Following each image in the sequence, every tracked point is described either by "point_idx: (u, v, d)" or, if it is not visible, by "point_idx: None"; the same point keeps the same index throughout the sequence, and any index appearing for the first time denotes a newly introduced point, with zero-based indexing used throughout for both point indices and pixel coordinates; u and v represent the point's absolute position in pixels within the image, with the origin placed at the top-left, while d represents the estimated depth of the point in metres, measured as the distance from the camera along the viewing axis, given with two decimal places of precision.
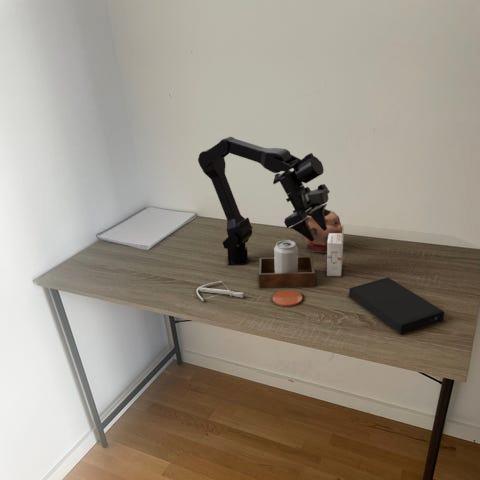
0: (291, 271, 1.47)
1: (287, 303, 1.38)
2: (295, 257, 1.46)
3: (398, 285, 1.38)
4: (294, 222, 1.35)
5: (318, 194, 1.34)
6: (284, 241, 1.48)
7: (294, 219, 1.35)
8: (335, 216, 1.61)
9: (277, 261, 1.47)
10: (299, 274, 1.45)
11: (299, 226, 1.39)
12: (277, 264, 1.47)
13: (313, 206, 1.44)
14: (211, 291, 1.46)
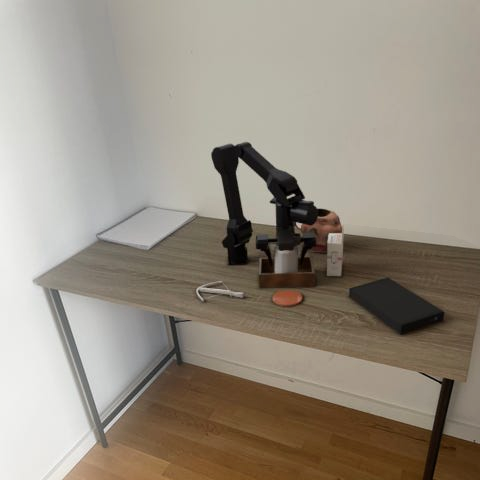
0: (291, 271, 1.47)
1: (287, 303, 1.38)
2: (295, 257, 1.46)
3: (398, 285, 1.38)
4: None
5: (278, 242, 1.38)
6: None
7: None
8: (335, 216, 1.61)
9: (277, 261, 1.47)
10: (299, 274, 1.45)
11: None
12: (277, 264, 1.47)
13: None
14: (211, 291, 1.46)
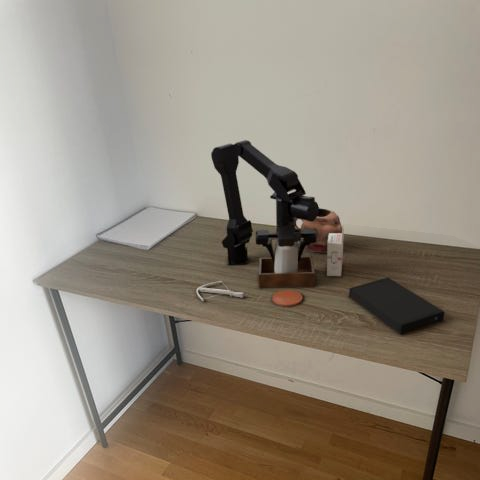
0: (291, 268, 1.47)
1: (287, 303, 1.38)
2: (296, 254, 1.45)
3: (398, 285, 1.38)
4: None
5: (278, 237, 1.37)
6: None
7: None
8: (335, 216, 1.61)
9: (277, 257, 1.46)
10: (299, 274, 1.45)
11: None
12: (277, 260, 1.47)
13: None
14: (211, 291, 1.46)
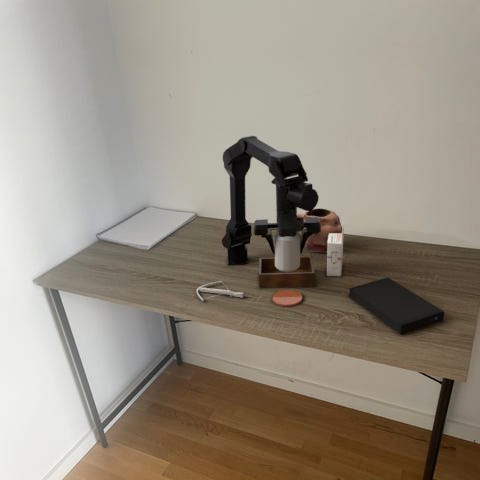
0: (293, 261, 1.35)
1: (287, 303, 1.38)
2: (298, 245, 1.33)
3: (398, 285, 1.38)
4: None
5: (278, 227, 1.25)
6: None
7: None
8: (335, 216, 1.61)
9: (278, 249, 1.34)
10: (299, 274, 1.45)
11: None
12: (278, 252, 1.35)
13: None
14: (211, 291, 1.46)
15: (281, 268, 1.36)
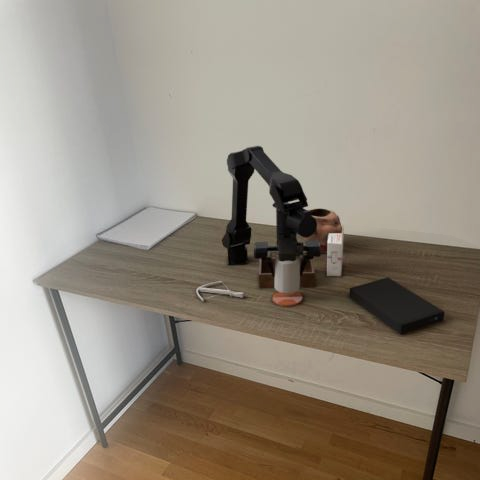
0: (293, 283, 1.35)
1: (287, 303, 1.38)
2: (298, 268, 1.33)
3: (398, 285, 1.38)
4: None
5: (278, 252, 1.25)
6: None
7: None
8: (335, 216, 1.61)
9: (278, 272, 1.34)
10: None
11: None
12: (278, 275, 1.35)
13: None
14: (211, 291, 1.46)
15: (281, 290, 1.36)
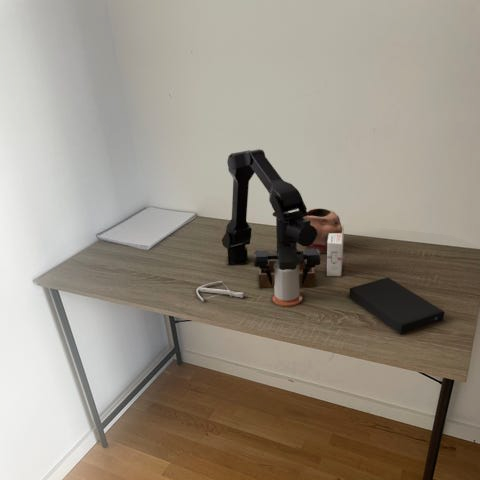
0: (292, 291, 1.36)
1: (287, 303, 1.38)
2: (297, 275, 1.34)
3: (398, 285, 1.38)
4: None
5: (278, 260, 1.26)
6: None
7: None
8: (335, 216, 1.61)
9: (277, 280, 1.35)
10: None
11: None
12: (277, 283, 1.36)
13: None
14: (211, 291, 1.46)
15: (281, 298, 1.38)
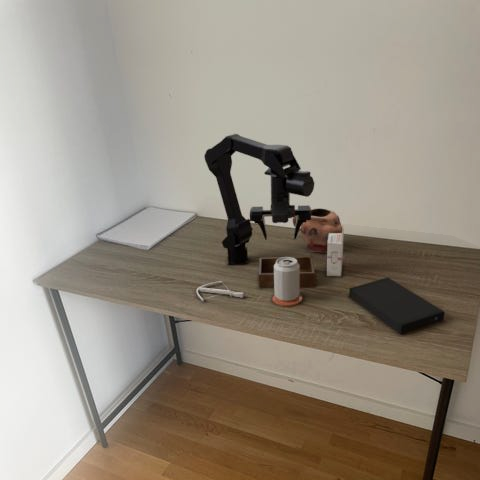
0: (292, 291, 1.36)
1: (287, 303, 1.38)
2: (297, 275, 1.35)
3: (398, 285, 1.38)
4: None
5: (272, 213, 1.36)
6: (285, 258, 1.37)
7: None
8: (335, 216, 1.61)
9: (277, 280, 1.35)
10: None
11: None
12: (277, 283, 1.36)
13: None
14: (211, 291, 1.46)
15: (281, 298, 1.38)
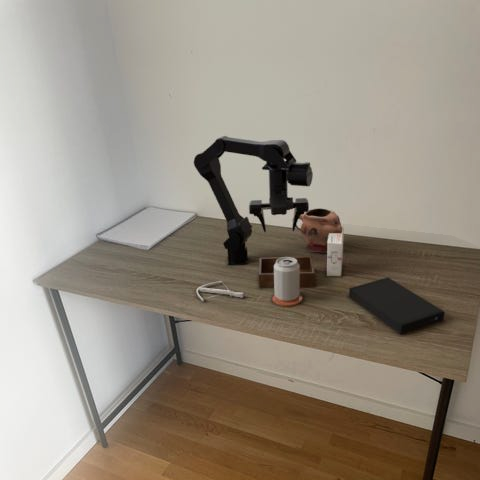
0: (292, 291, 1.36)
1: (287, 303, 1.38)
2: (297, 275, 1.35)
3: (398, 285, 1.38)
4: None
5: (271, 206, 1.41)
6: (285, 258, 1.37)
7: None
8: (335, 216, 1.61)
9: (277, 280, 1.35)
10: None
11: None
12: (277, 283, 1.36)
13: None
14: (211, 291, 1.46)
15: (281, 298, 1.38)
